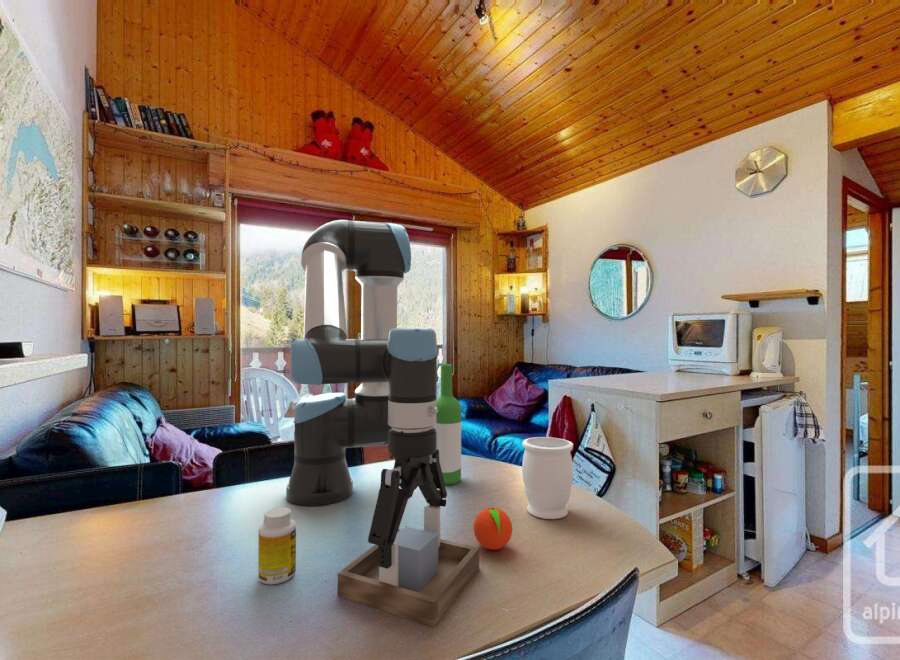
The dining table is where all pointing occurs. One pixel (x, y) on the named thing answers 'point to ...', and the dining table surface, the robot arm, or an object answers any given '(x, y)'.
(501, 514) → the clementine
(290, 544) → the supplement bottle
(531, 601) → the dining table surface
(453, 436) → the wine bottle
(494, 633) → the dining table surface
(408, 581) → the grey cube
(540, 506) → the jar
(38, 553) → the dining table surface
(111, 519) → the dining table surface
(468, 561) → the walnut tray
